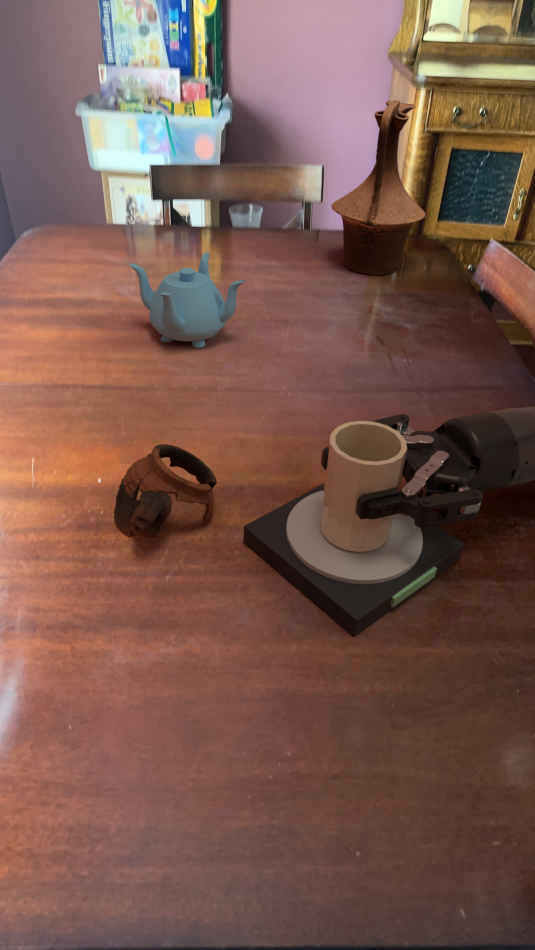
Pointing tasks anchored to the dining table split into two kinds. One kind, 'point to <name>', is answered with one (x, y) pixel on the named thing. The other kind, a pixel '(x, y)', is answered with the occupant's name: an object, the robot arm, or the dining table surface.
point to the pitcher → (379, 204)
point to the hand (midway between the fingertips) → (340, 483)
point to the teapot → (187, 304)
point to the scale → (349, 561)
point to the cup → (359, 482)
